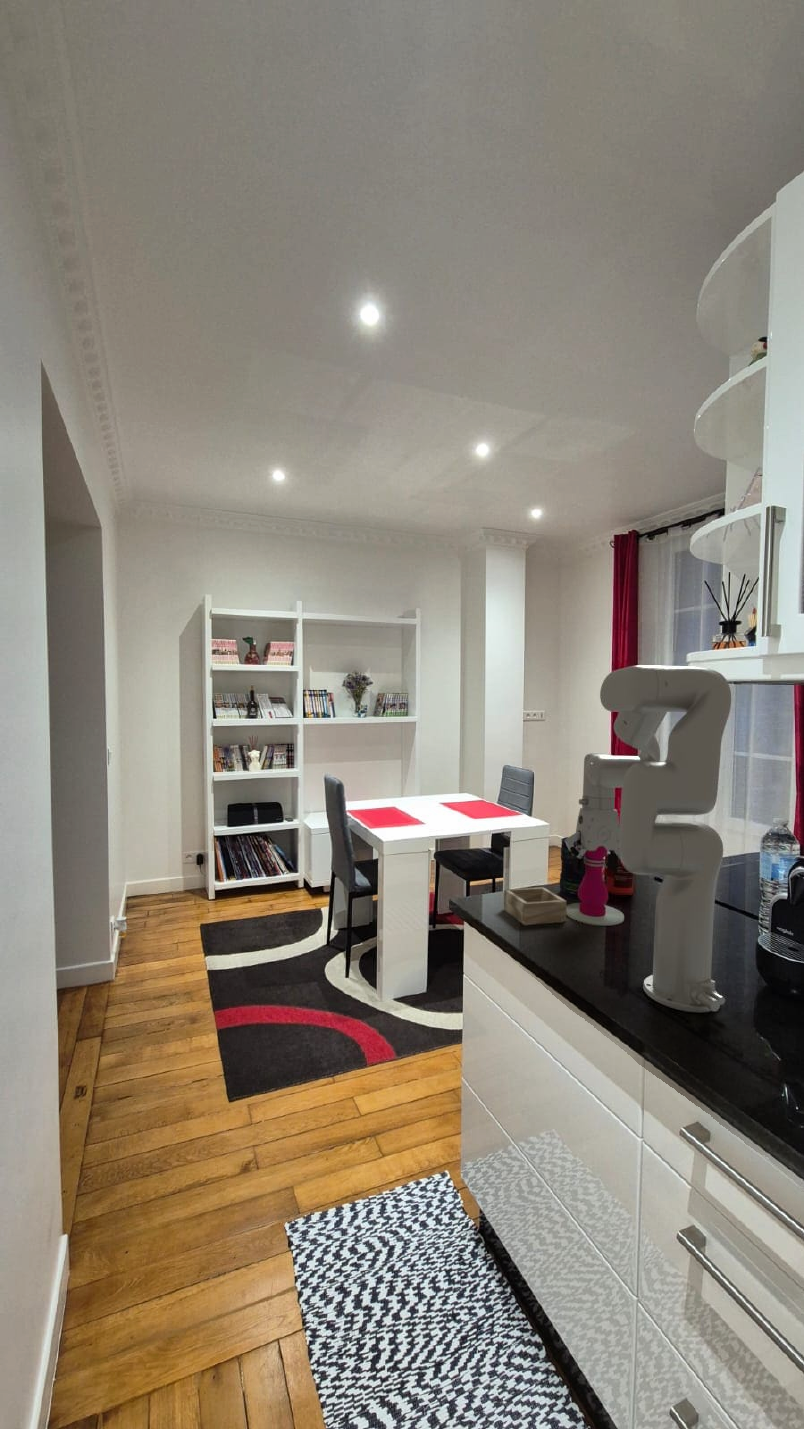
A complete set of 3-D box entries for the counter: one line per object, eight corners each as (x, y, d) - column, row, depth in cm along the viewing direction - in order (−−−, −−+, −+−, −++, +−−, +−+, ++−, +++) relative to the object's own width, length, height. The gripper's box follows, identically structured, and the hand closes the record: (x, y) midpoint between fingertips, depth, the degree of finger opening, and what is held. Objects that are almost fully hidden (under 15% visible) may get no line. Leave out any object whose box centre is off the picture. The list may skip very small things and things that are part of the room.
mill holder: (565, 921, 145) (566, 901, 145) (524, 925, 142) (525, 904, 142) (542, 906, 156) (543, 887, 156) (503, 909, 153) (504, 889, 153)
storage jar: (599, 902, 161) (601, 846, 160) (561, 899, 162) (563, 843, 162) (593, 890, 171) (595, 838, 170) (557, 888, 172) (559, 835, 172)
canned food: (612, 886, 176) (614, 848, 175) (638, 893, 169) (640, 854, 169) (597, 890, 171) (599, 852, 170) (623, 898, 165) (625, 858, 164)
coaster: (636, 923, 146) (636, 919, 146) (585, 927, 142) (585, 924, 142) (601, 903, 159) (601, 900, 159) (554, 907, 155) (554, 904, 155)
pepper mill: (609, 919, 146) (612, 836, 145) (578, 916, 147) (581, 834, 147) (605, 909, 153) (608, 830, 152) (575, 906, 154) (578, 828, 154)
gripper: (576, 806, 144) (573, 878, 144) (637, 805, 149) (635, 874, 149) (559, 801, 151) (556, 869, 151) (618, 800, 156) (616, 866, 156)
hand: (595, 872), depth 150 cm, fingers open, 9 cm apart
